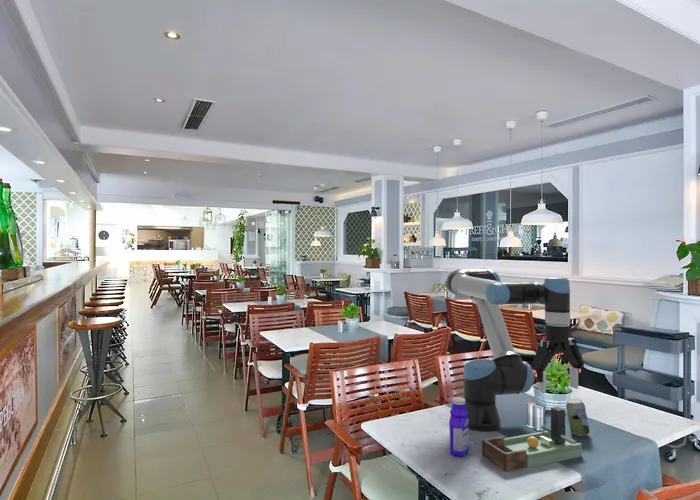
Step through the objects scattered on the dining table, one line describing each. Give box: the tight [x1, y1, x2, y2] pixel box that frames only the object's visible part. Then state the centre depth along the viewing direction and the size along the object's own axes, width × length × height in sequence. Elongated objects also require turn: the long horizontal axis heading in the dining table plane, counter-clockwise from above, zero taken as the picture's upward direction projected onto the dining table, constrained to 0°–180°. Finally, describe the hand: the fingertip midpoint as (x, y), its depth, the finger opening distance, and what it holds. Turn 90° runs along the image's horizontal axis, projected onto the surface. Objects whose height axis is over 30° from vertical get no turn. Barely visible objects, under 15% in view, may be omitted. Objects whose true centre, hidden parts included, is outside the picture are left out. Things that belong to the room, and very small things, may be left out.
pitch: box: [504, 430, 583, 469], centre depth 138 cm, size 22×12×4 cm, turn 110°
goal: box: [481, 435, 527, 472], centre depth 133 cm, size 8×11×5 cm
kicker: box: [540, 406, 577, 447], centre depth 140 cm, size 7×13×11 cm, turn 20°
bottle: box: [448, 396, 470, 458], centre depth 139 cm, size 7×6×17 cm
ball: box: [527, 436, 539, 448], centre depth 137 cm, size 4×4×4 cm
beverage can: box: [565, 398, 590, 437], centre depth 154 cm, size 6×7×12 cm
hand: (558, 389), depth 141 cm, fingers open, 13 cm apart
